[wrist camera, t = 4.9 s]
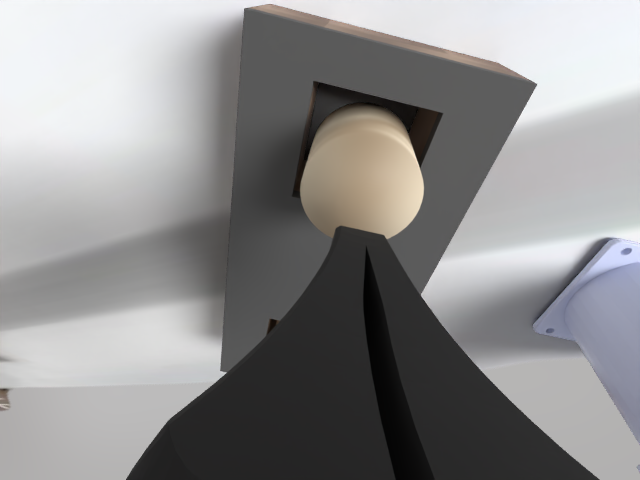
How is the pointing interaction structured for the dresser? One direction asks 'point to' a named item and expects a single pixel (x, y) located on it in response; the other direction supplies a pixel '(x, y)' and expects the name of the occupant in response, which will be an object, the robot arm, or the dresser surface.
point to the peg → (362, 172)
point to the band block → (291, 139)
